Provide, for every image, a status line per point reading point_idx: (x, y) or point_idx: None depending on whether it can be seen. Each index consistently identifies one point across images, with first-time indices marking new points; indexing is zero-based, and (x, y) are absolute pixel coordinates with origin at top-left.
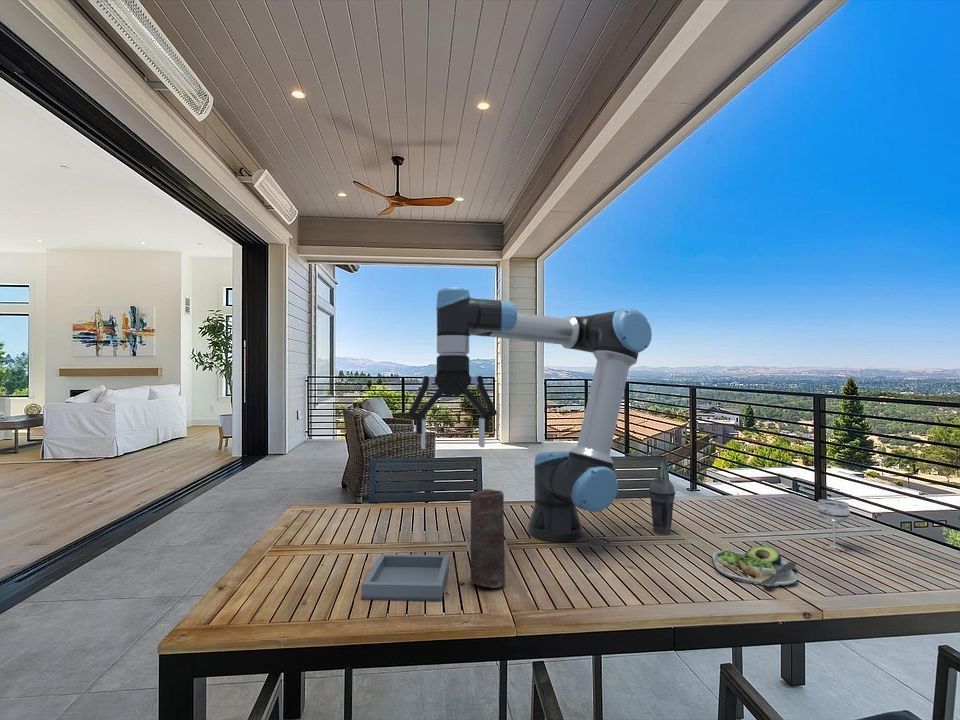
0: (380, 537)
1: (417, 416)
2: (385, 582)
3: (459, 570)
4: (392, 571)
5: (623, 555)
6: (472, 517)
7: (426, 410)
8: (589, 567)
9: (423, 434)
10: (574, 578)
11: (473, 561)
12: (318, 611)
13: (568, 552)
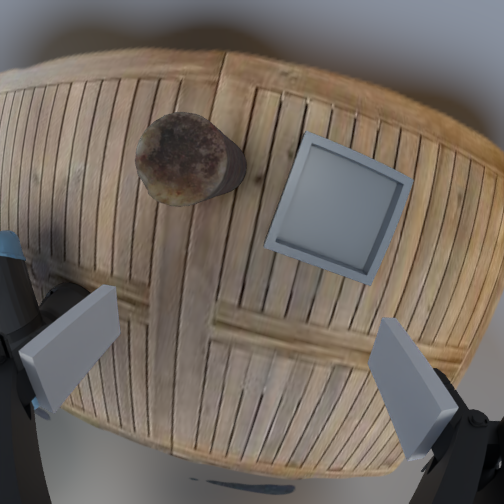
0: (334, 384)
1: (487, 421)
2: (384, 172)
3: (249, 229)
4: (355, 248)
5: (29, 215)
6: (233, 153)
7: (458, 464)
8: (71, 188)
9: (417, 354)
10: (100, 157)
11: (242, 156)
12: (448, 169)
13: (77, 245)
